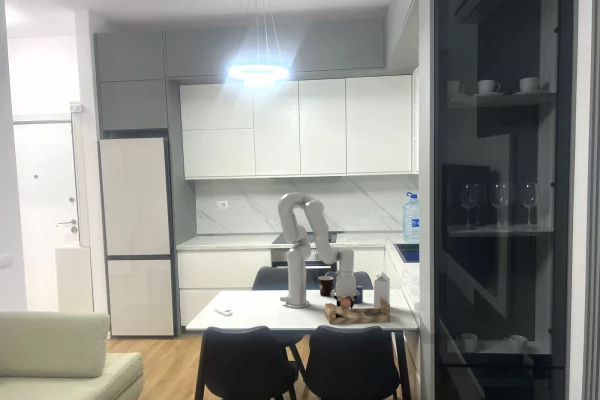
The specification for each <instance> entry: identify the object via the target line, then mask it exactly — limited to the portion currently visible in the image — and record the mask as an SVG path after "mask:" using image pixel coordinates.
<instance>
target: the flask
mask: <svg viewBox="0 0 600 400" xmlns="http://www.w3.org/2000/svg"><path fill="white" fill-rule="evenodd" d="M363 288H364V286H362V285H356V289H357V290H358V291H359V292H360V295H359V296H358V297H357V298H356V299H355V301H354V304H363V303H364V299H363V297H364V294H363V291H364V289H363ZM345 297H347V298H349V299H351V297H350V296H345Z"/></svg>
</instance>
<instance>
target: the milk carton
mask: <svg viewBox="0 0 600 400" xmlns="http://www.w3.org/2000/svg"><path fill="white" fill-rule="evenodd" d="M390 283H391V279H390V277H388V276H387V275H386V274H385V273H384V270H382V272H381V273H380V274H379V273H378V274H376V275H375V279H374V281H373V286H374V287H373V308H380V297H383V298H384V299H385V300H386V301H387V302H388V303H389V304H390V299H391V298H390V297H391V296H390V293H391V292H390V291H391V290H390V287H391V284H390ZM390 305H391V304H390Z"/></svg>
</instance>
